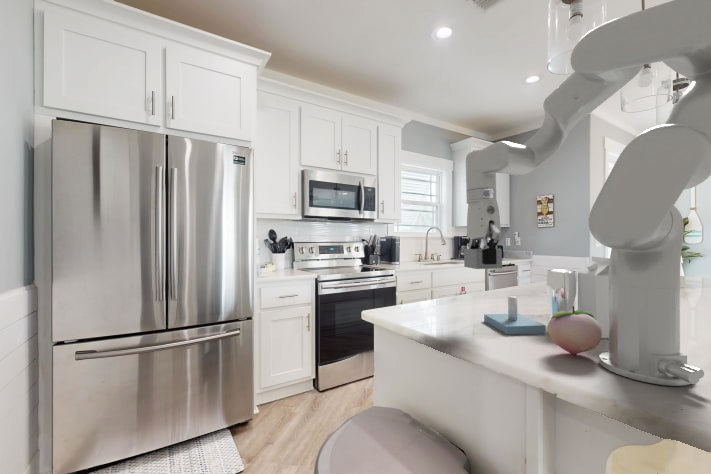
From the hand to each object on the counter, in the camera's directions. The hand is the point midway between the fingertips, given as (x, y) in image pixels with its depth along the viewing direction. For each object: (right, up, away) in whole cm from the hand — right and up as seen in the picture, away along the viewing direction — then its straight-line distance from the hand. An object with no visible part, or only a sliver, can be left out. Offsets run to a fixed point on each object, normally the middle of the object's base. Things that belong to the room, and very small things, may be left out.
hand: (482, 262), depth 85 cm
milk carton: (+26, -17, -7) cm, 32 cm away
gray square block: (0, -1, 0) cm, 1 cm away
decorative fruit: (+11, -17, -21) cm, 29 cm away
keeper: (+8, -17, 0) cm, 19 cm away
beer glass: (+21, -17, -1) cm, 27 cm away
